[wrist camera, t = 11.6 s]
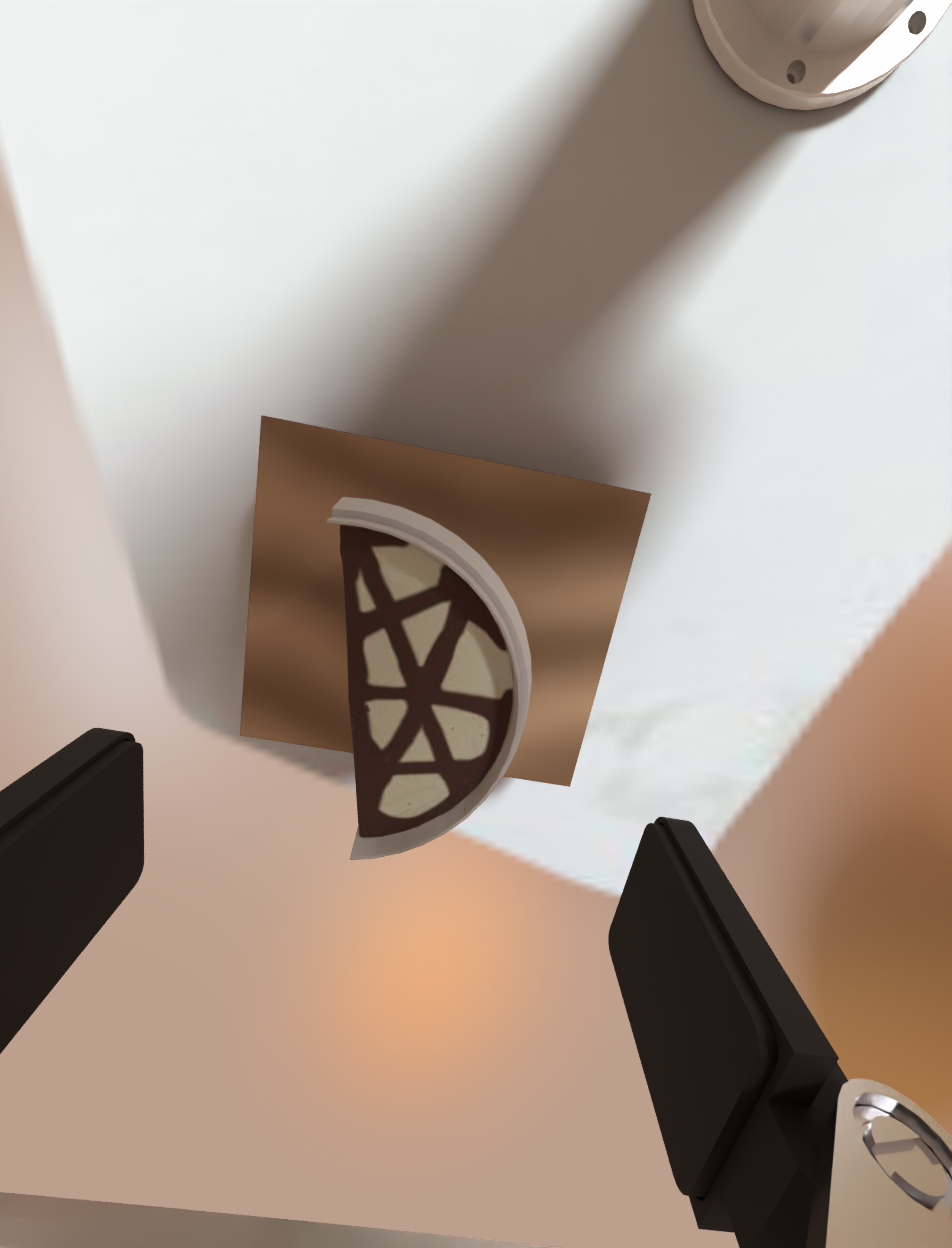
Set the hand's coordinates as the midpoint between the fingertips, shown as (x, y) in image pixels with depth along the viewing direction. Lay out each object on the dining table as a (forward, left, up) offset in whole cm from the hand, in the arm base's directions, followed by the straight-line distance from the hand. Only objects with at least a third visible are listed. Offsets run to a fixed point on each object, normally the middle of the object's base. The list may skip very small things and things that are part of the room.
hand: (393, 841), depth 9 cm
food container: (0, +1, -16) cm, 16 cm away
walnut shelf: (+1, 0, -22) cm, 22 cm away
